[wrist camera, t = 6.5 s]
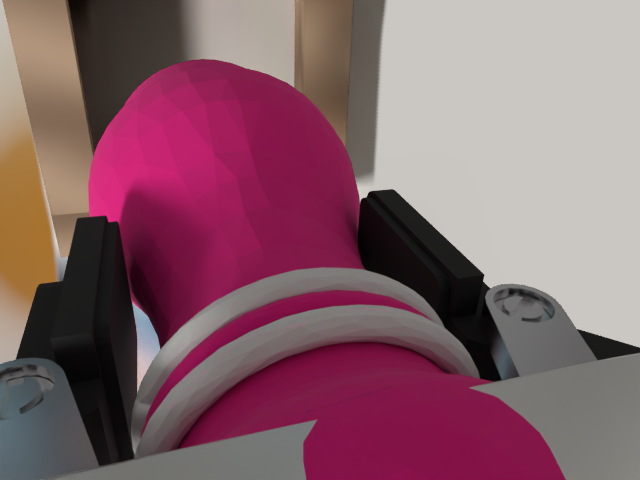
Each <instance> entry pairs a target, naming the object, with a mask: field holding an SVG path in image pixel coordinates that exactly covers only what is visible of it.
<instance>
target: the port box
mask: <svg viewBox="0 0 640 480" xmlns="http://www.w3.org/2000/svg"><path fill="white" fill-rule="evenodd" d="M3 5H4V9H5V14H6V18H7V22H8V27H9V31H10V35H11V40H12V44H13V48H14V53H15V57H16V62H17V66H18V71H19V75H20V79H21V84H22V88H23V93H24V97H25V101H26V106H27V110H28V115H29V119H30V123H31V128H32V132H33V137H34V141H35V145H36V150H37V154H38V158H39V163H40V167H41V172H42V176H43V180H44V185H45V189H46V194H47V198H48V202H49V207H50V211H51V215H52V220H53V224H54V229H55V233H56V237H57V242H58V246H59V251H60V255H61V257H68V256H69V252H70V247H71V243H72V239H73V234H74V230H75V225H76V221H77V218H83V217H89V199H88V181H89V174H90V166H91V163H92V159H93V156H94V153H95V152H94V146H93V140H92V135H91V129H90V123H89V118H88V112H87V106H86V100H85V95H84V89H83V83H82V78H81V72H80V66H79V61H78V55H77V49H76V43H75V38H74V32H73V26H72V21H71V15H70V9H69V4H68V0H3ZM352 18H353V0H295V89H296V90H298V91H299V92H301V93H302V94H304V95H305V96H306V97H307V98H308V99H309V100H310V101H311V102H312V103H313V104H314V105H315V106H316V107H317V108H318V109H319V110H320V111H321V112H322V114H323V115H324V116H325V118H326V119H327V120H328V122H329V123H330V124H331V126H332V127H333V128H334V130H335V131H336V133H337V135H338V136H339V138H340V139H341V141H342V143H343V144H344V146H345V148H346V129H347V111H348V92H349V73H350V55H351V36H352Z"/></svg>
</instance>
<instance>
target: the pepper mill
mask: <svg viewBox="0 0 640 480" xmlns="http://www.w3.org/2000/svg"><path fill="white" fill-rule="evenodd" d="M88 199H89V217H94V216H105V215H106V216H107V219H108V222H114V221H118V223H119V228H120V234H121V240H122V246H123V252H124V258H125V264H126V270H127V276H128V282H129V288H130V294H131V300H132V302H133V303H134V304H135V305H136V306H137V307H139V308H140V309H141V310H142V311H143V312H144V313H145V314H146V315H147V316H148V317H149V319H150V321H151V323H152V325H153V327H154V329H155V331H156V333H157V335H158V339H159V344H160V349H161V350H160V351H159V353H158V354H157V356H156V357H155V358H154V360H153V361H152V363H151V365H150V367H149V369H148V370H147V372H146V374H145V376H144V378H143V380H142V382H141V385H140V388H139V391H138V394H137V397H136V400H135V403H134V407H133V412H132V422H131V436H132V445H133V451H134V454H135V456H134V459H136V458H140V457H145V456H149V455H154V454H159V453H163V452H168V451H172V450H177V449H182V448H186V447H191V446H195V445H200V444H205V443H209V442H214V441H218V440H223V439H228V438H232V437H237V436H242V435H246V434H251V433H256V432H261V431H265V430H270V429H275V428H280V427H285V426H289V425H294V424H299V423H304V422H309V421H313V420H317V421H316V423H315V424H314V426H313V428H312V429H311V431H310V432H309V434H308V436H307V437H306V439H305V440H304V442H303V463H304V469H305V474H306V480H566V479H565V477H564V475H563V473H562V471H561V469H560V467H559V465H558V463H557V461H556V459H555V457H554V455H553V453H552V451H551V449H550V447H549V446H548V444H547V443H546V441H545V440H544V438H543V437H542V435H541V434H540V432H539V431H537V430H536V429H535V428H534V427H533V426H532V425H531V424H530V423H529V422H528V421H527V420H526V419H525V418H524V417H522V416H521V415H520V414H519V413H517V412H516V411H515V410H513V409H512V408H511V407H509V406H508V405H507V404H506V403H504V402H503V401H502V400H500V399H499V398H497V397H495V396H493V395H490V394H487V393H484V392H480V391H477V390H474V389H471V388H470V387H473V386H478V385H483V384H487V383H492V382H493V381H488V380H483V379H480V376H479V372H478V370H477V368H476V366H475V364H474V362H473V360H472V358H471V356H470V354H469V353H468V351H467V350H466V349H465V347H464V346H463V345H462V343H461V342H460V341H459V340H458V339H457V338H455V337H454V336H453V335H452V334H451V333H450V332H449V331H448V330H447V329H445V328H444V326H443V324H442V321H441V320H440V318H439V317H438V315H437V314H436V312H435V311H434V310H433V309H432V307H431V306H430V305H429V304H428V303H427V302H426V301H425V299H424V298H423V297H421V296H420V295H419V294H417V293H416V292H415V291H414V290H412V289H410V288H408V287H407V286H405V285H403V284H401V283H400V282H398V281H395V280H393V279H391V278H389V277H386V276H384V275H380V274H377V273H373V272H370V271H367V270H365V268H364V266H363V264H362V261H361V257H360V253H359V249H358V237H357V236H358V223H359V211H360V202H359V194H358V189H357V185H356V181H355V176H354V172H353V168H352V164H351V161H350V158H349V156H348V153H347V151H346V148H345V146H344V144H343V143H342V141H341V139H340V138H339V136H338V135H337V133H336V131H335V130H334V128H333V127H332V126H331V124H330V123H329V122H328V120H327V119H326V118H325V116H324V115H323V114H322V112H321V111H320V110H319V109H318V108H317V107H316V106H315V105H314V104H313V103H312V102H311V101H310V100H309V99H308V98H307V97H306V96H305V95H304V94H302V93H301V92H299V91H298V90H296V89H295V88H293V87H292V86H291V85H289V84H288V83H286V82H283V81H281V80H279V79H277V78H275V77H272V76H270V75H268V74H265V73H261V72H258V71H254V70H250V69H245V68H243V67H240V66H238V65H235V64H232V63H228V62H223V61H218V60H207V59H201V60H191V61H186V62H181V63H177V64H174V65H172V66H169V67H167V68H164V69H162V70H160V71H158V72H157V73H155V74H153V75H152V76H150V77H149V78H148V79H146V80H145V81H144V82H143V83H142V84H141V85H140V86H139V87H138V88H137V89H136V90H135V91H134V92H133V93H132V94H131V96H130V97H129V99H128V100H127V101H126V103H125V105H124V107H123V108H122V109H121V110H120V111H119V112H118V114H117V115H116V116H115V117H114V119H113V120H112V121H111V122H110V124H109V125H108V126H107V128H106V130H105V132H104V134H103V135H102V137H101V139H100V141H99V143H98V145H97V147H96V150H95V153H94V156H93V159H92V163H91V166H90V174H89V181H88Z"/></svg>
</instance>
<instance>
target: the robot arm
mask: <svg viewBox="0 0 640 480" xmlns="http://www.w3.org/2000/svg"><path fill="white" fill-rule="evenodd" d="M357 237H358V249H359V253H360V257H361V261H362V264H363V266H364V268H365V270H367V271H370V272H373V273H377V274H380V275H384V276H386V277H389V278H391V279H393V280H395V281H398V282H400V283H401V284H403V285H405V286H407V287H408V288H410V289H412V290H414V291H415V292H416V293H417V294H419V295H420V296H421V297H423V298H424V299H425V301H426V302H427V303H428V304H429V305H430V306H431V307H432V309H433V310H434V311H435V312H436V314H437V315H438V317H439V318H440V320H441V321H442V324H443V326H444V328H445V329H447V330H448V331H449V332H450V333H451V334H452V335H453V336H454V337H455V338H457V339H458V340H459V341H460V342H461V343H462V345H463V346H464V347H465V349H466V350H467V351H468V353H469V354H470V356H471V358H472V360H473V362H474V364H475V366H476V368H477V370H478V372H479V376H480V379H483V380H488V381H493V382H492V383H487V384H483V385H478V386H473V387H470V388H471V389H474V390H477V391H480V392H484V393H487V394H490V395H493V396H495V397H497V398H499V399H500V400H502V401H503V402H504V403H506V404H507V405H508V406H509V407H511V408H512V409H513V410H515V411H516V412H517V413H519V414H520V415H521V416H522V417H524V418H525V419H526V420H527V421H528V422H529V423H530V424H531V425H532V426H533V427H534V428H535V429H536V430H537V431H539V432H540V434H541V435H542V437H543V438H544V440H545V441H546V443H547V444H548V446H549V447H550V449H551V451H552V453H553V455H554V457H555V459H556V461H557V463H558V465H559V467H560V469H561V471H562V473H563V475H564V477H565V479H566V480H640V348H639V347H635V346H632V345H629V344H625V343H622V342H619V341H615V340H612V339H609V338H605V337H602V336H599V335H595V334H592V333H588V332H585V331H582V330H578V329H576V327H575V326H574V324H573V323H572V321H571V320H570V318H569V317H568V315H567V314H566V312H565V311H564V309H563V308H562V306H561V305H560V304H559V303H558V302H557V301H556V300H555V299H554V298H553V297H551V296H550V295H548V294H546V293H545V292H542V291H540V290H538V289H535V288H532V287H528V286H525V285H518V284H501V285H498V286H494V287H493V288H491V289H490V288H489V287H488V286H487V285H486V284H485V283H484V282H483V278H484V274H483V273H482V272H481V271H480V270H479V269H478V268H477V267H476V266H474V265H473V264H472V263H471V262H470V261H469V260H468V259H467V258H466V257H465V256H464V255H463V254H462V253H461V252H460V251H458V250H457V249H456V248H455V247H454V246H453V245H452V244H451V243H450V242H449V241H448V240H447V239H446V238H445V237H444V236H443V235H441V234H440V233H439V232H438V231H437V230H436V229H435V228H434V227H433V226H432V225H431V224H430V223H429V222H428V221H427V220H426V219H425V218H423V217H422V216H421V215H420V214H419V213H418V212H417V211H416V210H415V209H414V208H413V207H412V206H411V205H409V203H408V202H406V201H405V200H404V199H403V198H402V197H401V196H400V195H399V194H398V193H397V192H396V191H395V190H392V189H391V190H380V191H371V192H369V193H368V196H367V198H362V200H361V202H360V211H359V223H358V236H357ZM136 397H137V332H136V324H135V318H134V312H133V306H132V300H131V294H130V288H129V282H128V276H127V270H126V264H125V258H124V252H123V246H122V240H121V234H120V228H119V223H118V221H114V222H108V219H107V216H106V215H105V216H94V217H83V218H77V221H76V225H75V230H74V234H73V239H72V243H71V247H70V252H69V256H68V261H67V265H66V270H65V274H64V279H63V281H60V282H52V283H43V284H40V285H38V287H37V290H36V293H35V297H34V300H33V303H32V307H31V310H30V313H29V317H28V320H27V323H26V327H25V330H24V334H23V337H22V341H21V344H20V347H19V350H18V354H17V357H16V360H13V361H8V362H5V363H2V364H0V480H306V474H305V469H304V463H303V442H304V440H305V439H306V437H307V436H308V434H309V432H310V431H311V429H312V428H313V426H314V424H315V423H316V421H317V420H313V421H309V422H304V423H299V424H294V425H289V426H285V427H280V428H275V429H270V430H265V431H261V432H256V433H251V434H246V435H242V436H237V437H232V438H228V439H223V440H218V441H214V442H209V443H205V444H200V445H195V446H191V447H186V448H182V449H177V450H172V451H168V452H163V453H159V454H154V455H149V456H145V457H140V458H136V459H134V456H135V454H134V451H133V445H132V436H131V422H132V412H133V407H134V403H135V400H136Z"/></svg>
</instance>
